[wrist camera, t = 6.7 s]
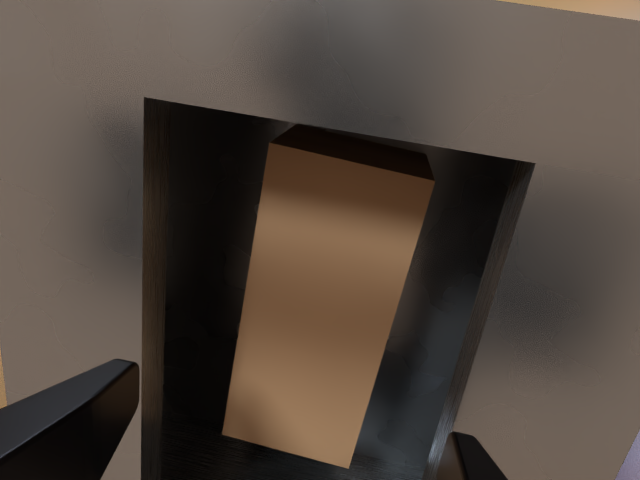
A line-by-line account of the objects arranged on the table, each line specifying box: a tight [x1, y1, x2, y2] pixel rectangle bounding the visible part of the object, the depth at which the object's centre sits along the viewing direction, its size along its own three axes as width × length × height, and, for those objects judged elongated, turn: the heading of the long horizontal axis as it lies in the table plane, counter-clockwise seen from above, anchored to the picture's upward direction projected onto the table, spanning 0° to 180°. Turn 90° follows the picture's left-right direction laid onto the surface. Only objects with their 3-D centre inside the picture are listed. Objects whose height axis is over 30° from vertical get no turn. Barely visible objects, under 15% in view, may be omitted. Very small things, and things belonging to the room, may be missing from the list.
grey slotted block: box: [0, 0, 640, 480], centre depth 12 cm, size 14×12×6 cm
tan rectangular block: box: [222, 124, 435, 469], centre depth 13 cm, size 8×4×3 cm, turn 168°
